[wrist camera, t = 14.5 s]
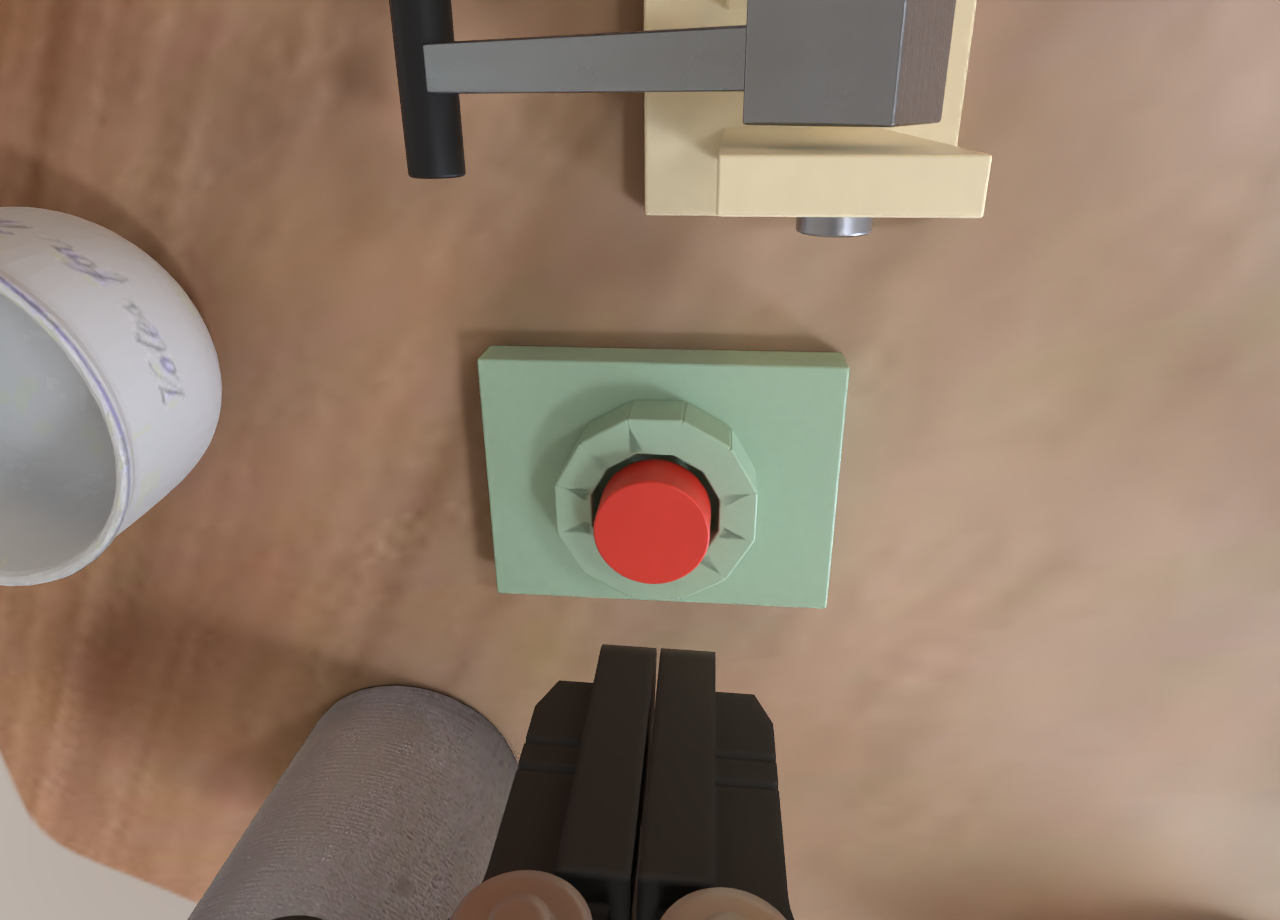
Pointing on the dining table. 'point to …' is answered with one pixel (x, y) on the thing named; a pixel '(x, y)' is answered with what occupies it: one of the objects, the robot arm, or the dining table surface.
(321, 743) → the pillar candle
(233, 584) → the dining table surface
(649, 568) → the button
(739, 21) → the lever bracket
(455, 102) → the press lever
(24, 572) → the teacup
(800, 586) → the button block
